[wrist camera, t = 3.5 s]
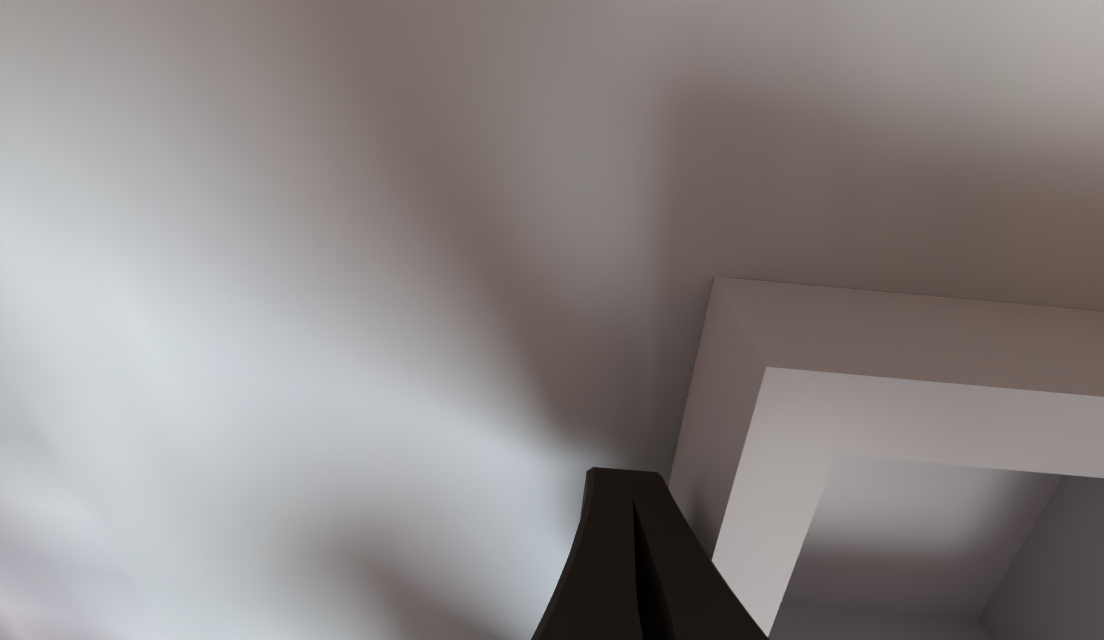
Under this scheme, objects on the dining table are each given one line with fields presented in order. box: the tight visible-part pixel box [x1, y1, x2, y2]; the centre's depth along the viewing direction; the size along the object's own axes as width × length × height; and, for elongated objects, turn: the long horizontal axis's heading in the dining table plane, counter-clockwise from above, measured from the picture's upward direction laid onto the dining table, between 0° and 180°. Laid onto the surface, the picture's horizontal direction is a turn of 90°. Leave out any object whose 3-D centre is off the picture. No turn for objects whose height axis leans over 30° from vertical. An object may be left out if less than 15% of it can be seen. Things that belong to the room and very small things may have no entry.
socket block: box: [668, 276, 1104, 640], centre depth 11 cm, size 9×9×4 cm
